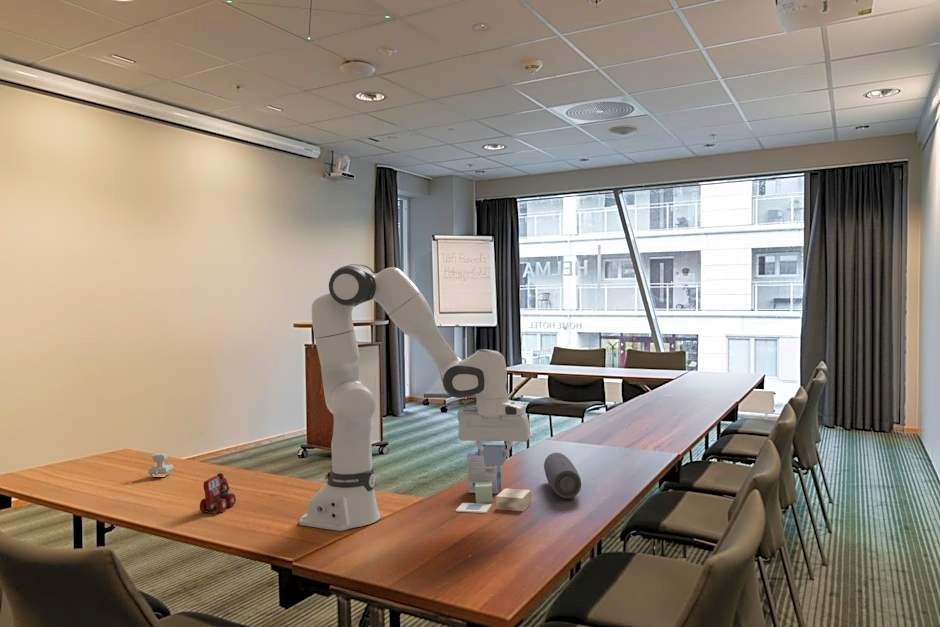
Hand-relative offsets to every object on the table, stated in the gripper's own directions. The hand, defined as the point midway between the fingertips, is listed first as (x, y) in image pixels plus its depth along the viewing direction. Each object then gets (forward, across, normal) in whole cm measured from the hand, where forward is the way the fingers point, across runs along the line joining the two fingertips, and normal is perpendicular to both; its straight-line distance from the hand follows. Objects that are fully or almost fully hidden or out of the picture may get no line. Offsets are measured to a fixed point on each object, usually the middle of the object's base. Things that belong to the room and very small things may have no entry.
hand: (495, 456), depth 180 cm
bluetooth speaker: (+17, +15, +24) cm, 33 cm away
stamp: (+16, -134, +23) cm, 137 cm away
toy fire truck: (+16, -86, -8) cm, 88 cm away
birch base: (+17, +3, +8) cm, 19 cm away
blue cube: (+2, 0, 0) cm, 2 cm away
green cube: (+16, -7, +12) cm, 22 cm away
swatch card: (+16, -8, +4) cm, 19 cm away
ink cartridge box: (+17, -9, +21) cm, 28 cm away
